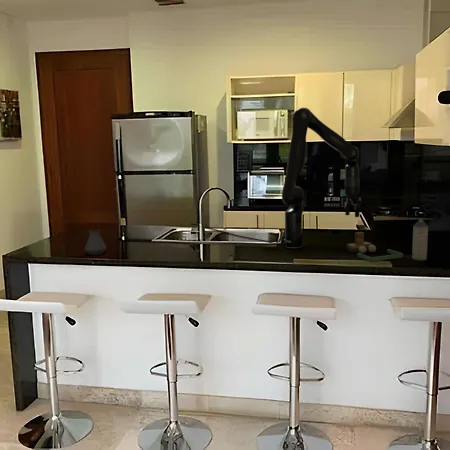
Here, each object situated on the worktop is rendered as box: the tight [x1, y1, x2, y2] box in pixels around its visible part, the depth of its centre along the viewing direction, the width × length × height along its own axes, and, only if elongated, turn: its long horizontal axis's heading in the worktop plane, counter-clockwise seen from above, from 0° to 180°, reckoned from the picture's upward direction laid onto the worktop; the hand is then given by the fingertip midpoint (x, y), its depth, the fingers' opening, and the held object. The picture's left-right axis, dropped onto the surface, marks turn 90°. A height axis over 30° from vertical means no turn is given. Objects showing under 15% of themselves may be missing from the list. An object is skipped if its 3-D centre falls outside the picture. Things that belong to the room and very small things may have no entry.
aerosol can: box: [411, 218, 429, 262], centre depth 260 cm, size 7×7×20 cm
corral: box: [356, 248, 404, 262], centre depth 268 cm, size 12×19×2 cm, turn 112°
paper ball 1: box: [358, 246, 368, 255], centre depth 276 cm, size 4×4×4 cm
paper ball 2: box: [367, 244, 377, 253], centre depth 278 cm, size 4×4×4 cm
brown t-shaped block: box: [345, 231, 373, 253], centre depth 283 cm, size 5×13×10 cm, turn 112°
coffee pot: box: [84, 221, 107, 256], centre depth 294 cm, size 21×12×15 cm, turn 2°
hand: (352, 216), depth 279 cm, fingers open, 8 cm apart
